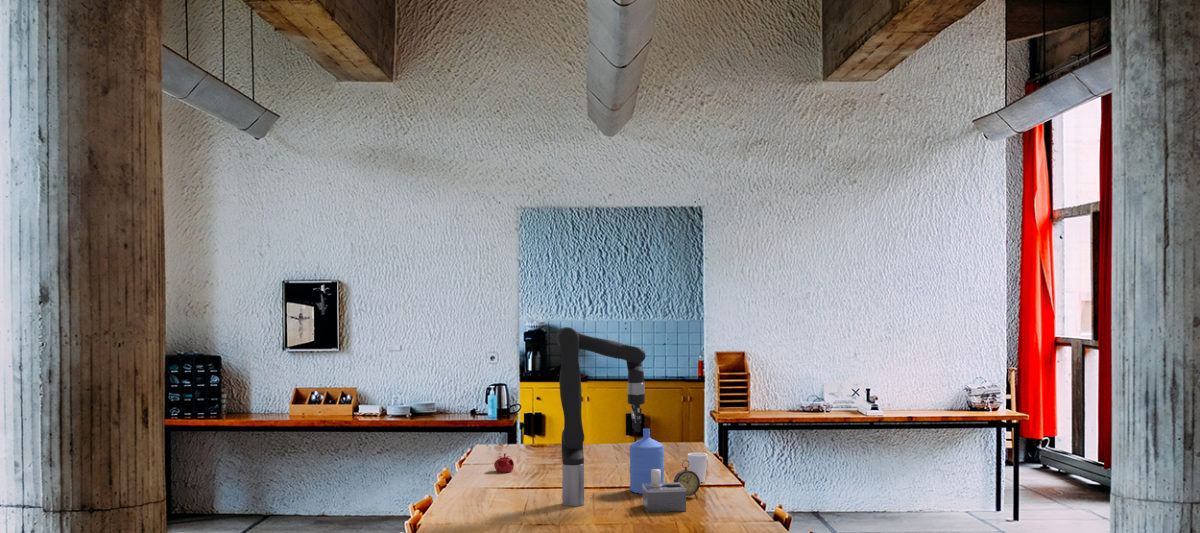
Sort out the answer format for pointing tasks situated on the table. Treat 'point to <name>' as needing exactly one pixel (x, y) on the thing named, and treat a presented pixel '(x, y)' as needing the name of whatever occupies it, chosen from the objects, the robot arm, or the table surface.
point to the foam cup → (698, 464)
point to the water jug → (645, 461)
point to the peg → (655, 478)
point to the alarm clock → (688, 480)
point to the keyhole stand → (664, 497)
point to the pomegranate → (504, 464)
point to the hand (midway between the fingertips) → (636, 430)
